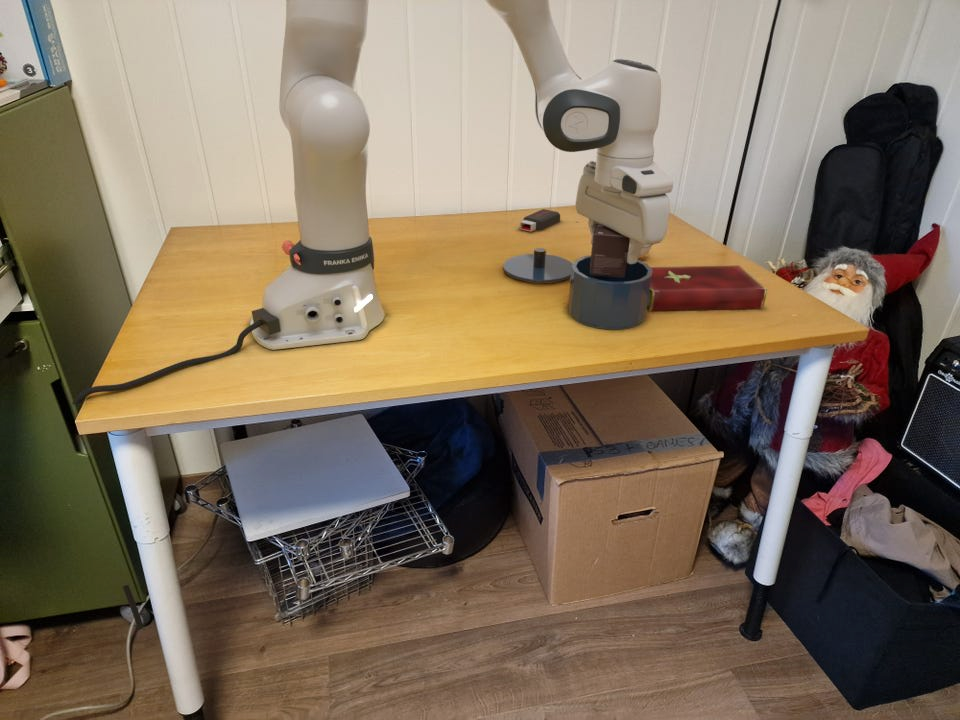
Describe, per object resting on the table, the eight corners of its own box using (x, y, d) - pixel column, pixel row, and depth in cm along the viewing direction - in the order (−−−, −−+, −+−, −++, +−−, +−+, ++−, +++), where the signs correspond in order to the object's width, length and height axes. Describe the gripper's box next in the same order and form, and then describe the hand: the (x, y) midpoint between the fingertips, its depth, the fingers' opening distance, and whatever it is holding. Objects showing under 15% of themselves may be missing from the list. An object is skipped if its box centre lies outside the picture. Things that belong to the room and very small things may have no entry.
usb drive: (560, 221, 162) (560, 210, 161) (534, 233, 153) (535, 222, 152) (542, 217, 165) (543, 206, 163) (516, 229, 156) (516, 218, 155)
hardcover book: (762, 309, 117) (768, 288, 115) (649, 312, 116) (653, 290, 114) (735, 284, 128) (739, 263, 126) (631, 286, 126) (633, 265, 124)
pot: (597, 336, 108) (603, 288, 104) (554, 305, 118) (557, 261, 114) (661, 320, 113) (669, 275, 109) (614, 292, 124) (619, 249, 120)
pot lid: (525, 290, 124) (527, 267, 122) (490, 265, 135) (491, 243, 133) (588, 278, 130) (591, 255, 127) (550, 254, 141) (551, 234, 139)
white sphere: (628, 266, 136) (632, 232, 132) (608, 254, 142) (612, 222, 138) (667, 260, 139) (672, 226, 136) (646, 248, 145) (651, 216, 141)
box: (624, 279, 109) (631, 236, 105) (588, 275, 110) (593, 233, 106) (624, 266, 114) (630, 225, 110) (589, 263, 115) (594, 222, 111)
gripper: (570, 159, 110) (564, 237, 117) (648, 188, 94) (635, 277, 101) (600, 156, 113) (592, 233, 120) (681, 184, 97) (667, 270, 104)
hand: (613, 253), depth 110 cm, fingers closed on box, 8 cm apart
